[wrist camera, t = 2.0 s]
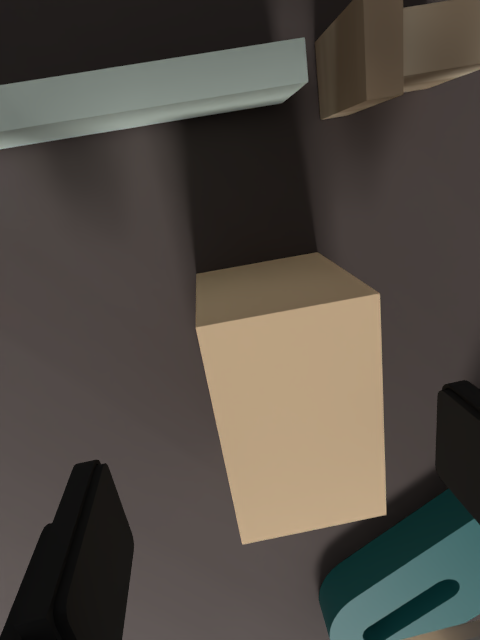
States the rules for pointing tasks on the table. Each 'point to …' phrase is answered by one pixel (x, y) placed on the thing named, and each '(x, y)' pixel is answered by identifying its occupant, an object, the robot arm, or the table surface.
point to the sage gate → (151, 92)
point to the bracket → (408, 577)
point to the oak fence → (393, 51)
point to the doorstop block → (295, 392)
